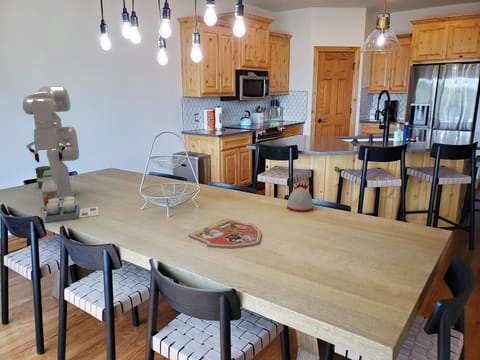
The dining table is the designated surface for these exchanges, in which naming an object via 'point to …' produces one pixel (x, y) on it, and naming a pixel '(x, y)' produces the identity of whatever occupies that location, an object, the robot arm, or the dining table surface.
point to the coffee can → (41, 174)
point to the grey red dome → (300, 199)
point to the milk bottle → (48, 189)
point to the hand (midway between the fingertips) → (49, 161)
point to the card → (88, 212)
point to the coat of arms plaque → (228, 234)
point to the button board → (62, 215)
